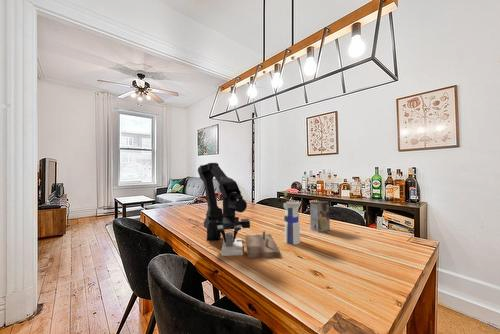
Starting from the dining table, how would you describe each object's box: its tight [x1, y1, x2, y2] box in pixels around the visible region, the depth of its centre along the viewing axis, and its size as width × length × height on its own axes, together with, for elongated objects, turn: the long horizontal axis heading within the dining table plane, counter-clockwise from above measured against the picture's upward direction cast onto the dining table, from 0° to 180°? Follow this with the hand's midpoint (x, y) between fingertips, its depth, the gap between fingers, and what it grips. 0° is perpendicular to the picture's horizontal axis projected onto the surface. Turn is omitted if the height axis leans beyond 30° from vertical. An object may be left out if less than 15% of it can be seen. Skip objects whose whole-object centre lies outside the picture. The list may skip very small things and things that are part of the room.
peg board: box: [244, 230, 281, 259], centre depth 99 cm, size 13×22×6 cm, turn 4°
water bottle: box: [283, 190, 301, 246], centre depth 105 cm, size 8×9×25 cm
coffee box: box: [309, 200, 331, 233], centre depth 123 cm, size 9×6×16 cm
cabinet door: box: [220, 231, 244, 257], centre depth 98 cm, size 9×16×6 cm, turn 4°
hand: (229, 242), depth 98 cm, fingers open, 3 cm apart
